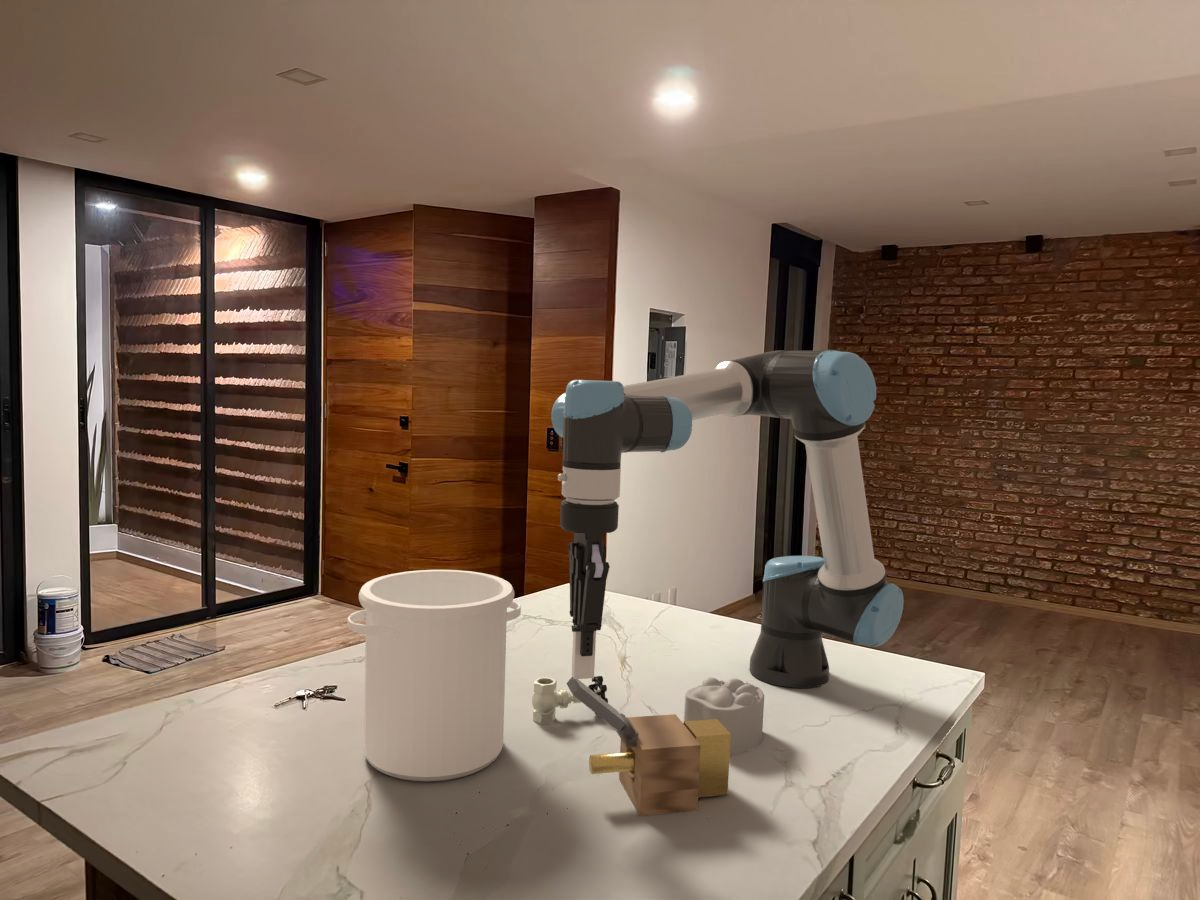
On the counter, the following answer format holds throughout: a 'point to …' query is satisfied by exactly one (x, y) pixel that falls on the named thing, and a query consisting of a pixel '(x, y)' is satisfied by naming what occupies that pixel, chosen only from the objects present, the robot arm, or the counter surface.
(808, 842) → the counter surface
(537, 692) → the valve
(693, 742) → the block
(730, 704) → the lumpy-topped squat cylinder
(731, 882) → the counter surface
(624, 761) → the pin
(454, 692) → the bucket
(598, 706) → the lever
